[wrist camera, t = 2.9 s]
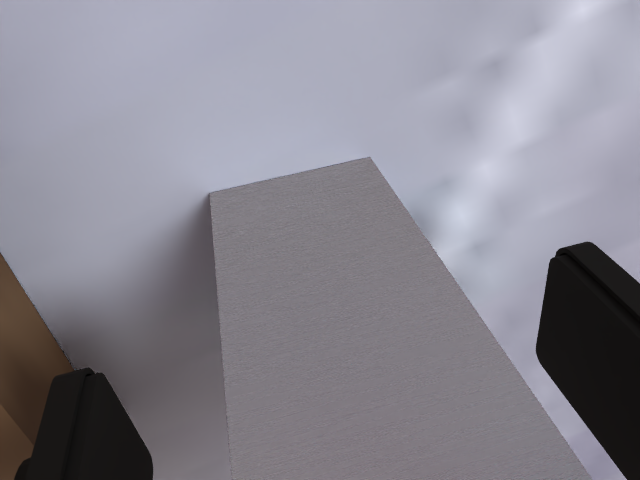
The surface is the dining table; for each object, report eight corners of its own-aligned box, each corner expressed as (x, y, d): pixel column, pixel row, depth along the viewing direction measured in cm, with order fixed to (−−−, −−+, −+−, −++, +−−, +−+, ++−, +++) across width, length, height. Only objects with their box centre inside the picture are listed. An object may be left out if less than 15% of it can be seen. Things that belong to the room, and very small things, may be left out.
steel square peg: (380, 280, 15) (664, 848, 6) (246, 313, 15) (340, 972, 6) (370, 156, 13) (804, 787, 4) (209, 193, 12) (271, 989, 3)
